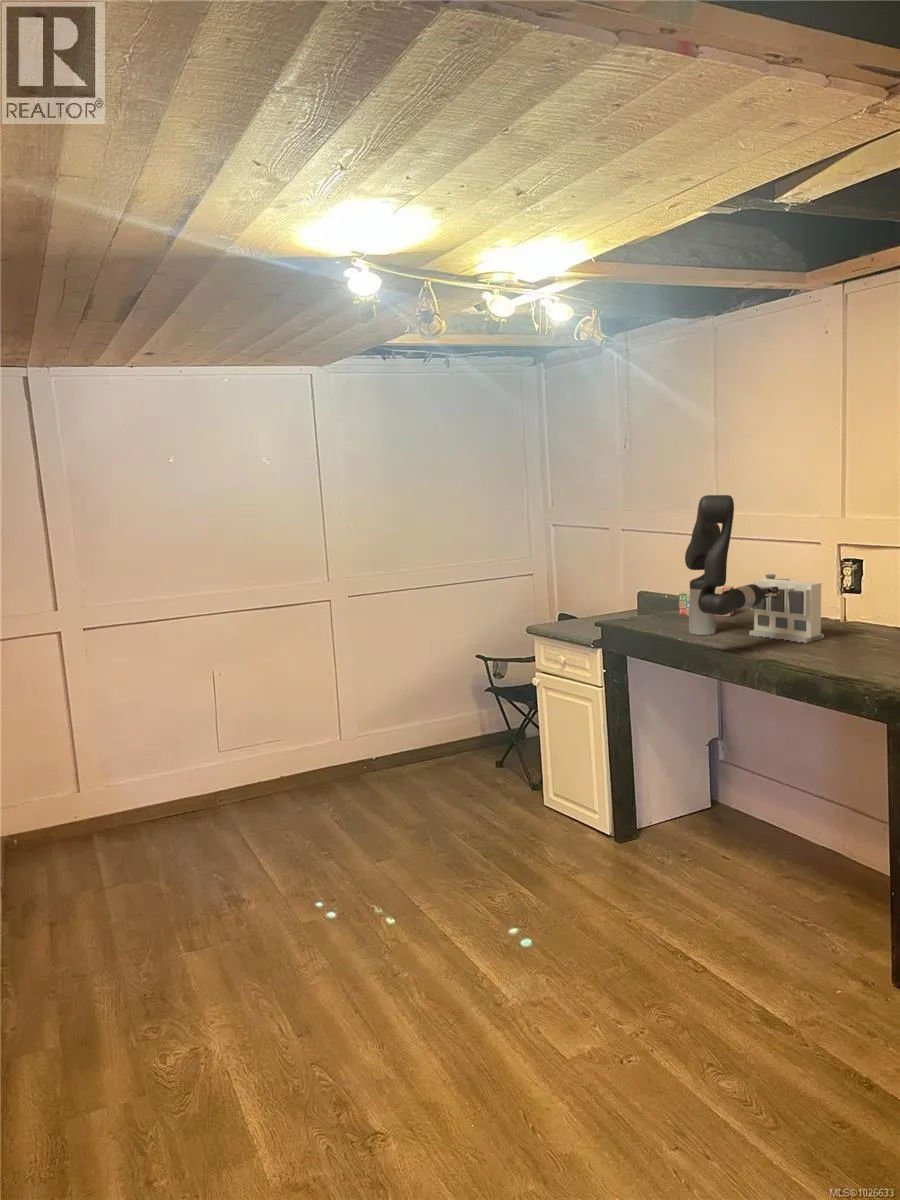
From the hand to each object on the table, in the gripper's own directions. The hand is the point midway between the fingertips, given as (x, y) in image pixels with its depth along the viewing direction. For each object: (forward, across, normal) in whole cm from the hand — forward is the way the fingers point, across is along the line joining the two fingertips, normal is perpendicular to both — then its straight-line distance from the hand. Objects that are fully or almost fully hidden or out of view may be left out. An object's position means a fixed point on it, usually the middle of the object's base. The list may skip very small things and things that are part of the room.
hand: (776, 589), depth 318 cm
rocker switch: (0, +7, +8) cm, 11 cm away
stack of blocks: (+24, +51, +19) cm, 60 cm away
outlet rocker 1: (+1, 0, +8) cm, 8 cm away
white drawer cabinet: (+6, 0, +18) cm, 19 cm away
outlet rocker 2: (+2, -7, +8) cm, 11 cm away
